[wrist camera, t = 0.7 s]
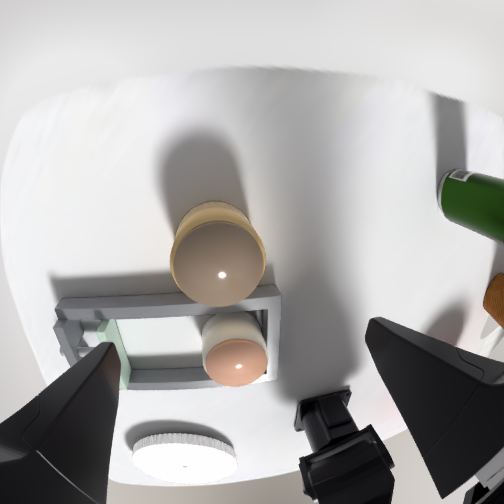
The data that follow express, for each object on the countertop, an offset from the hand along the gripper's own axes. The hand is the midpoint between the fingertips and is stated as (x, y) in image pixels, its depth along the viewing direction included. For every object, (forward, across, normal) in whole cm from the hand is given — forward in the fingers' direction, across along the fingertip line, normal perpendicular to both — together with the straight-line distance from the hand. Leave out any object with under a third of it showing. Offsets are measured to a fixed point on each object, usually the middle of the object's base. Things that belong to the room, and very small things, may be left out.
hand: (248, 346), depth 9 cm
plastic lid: (+13, +7, +30) cm, 33 cm away
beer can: (+12, -22, -4) cm, 26 cm away
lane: (+12, +5, +9) cm, 16 cm away
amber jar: (+12, +1, 0) cm, 12 cm away
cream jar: (+12, 0, +9) cm, 15 cm away
